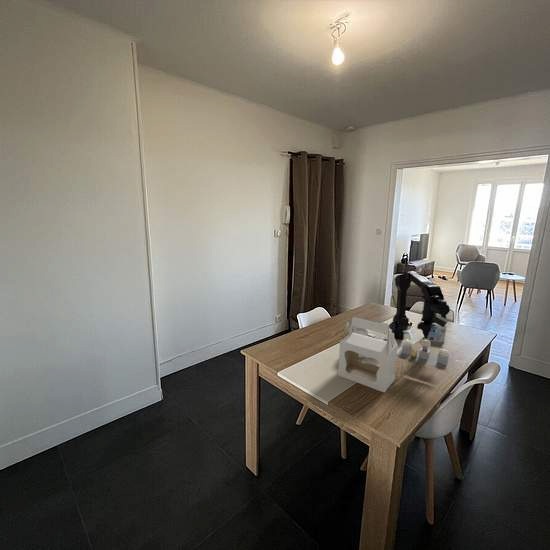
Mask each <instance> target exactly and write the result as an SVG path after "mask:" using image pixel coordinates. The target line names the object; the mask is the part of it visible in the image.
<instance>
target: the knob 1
mask: <svg viewBox="0 0 550 550" xmlns="http://www.w3.org/2000/svg"><path fill="white" fill-rule="evenodd" d="M402 341H403V342H402V343H403V344H402V346H404V347H408V348H411V347H412V346H413V341H410V340H402ZM412 348H413V347H412Z"/></svg>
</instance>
